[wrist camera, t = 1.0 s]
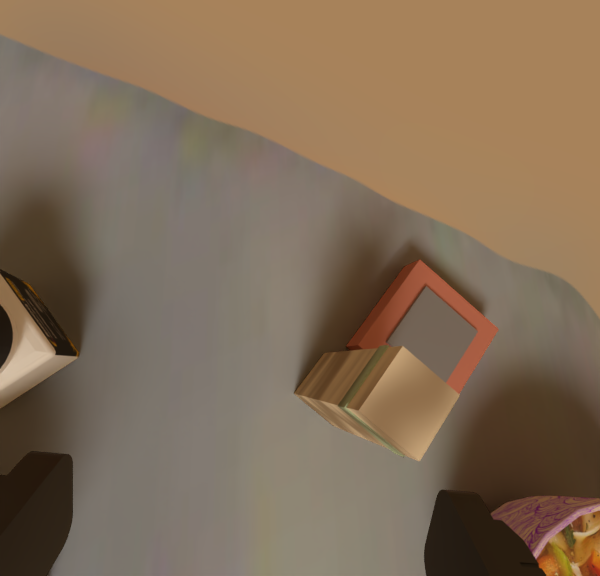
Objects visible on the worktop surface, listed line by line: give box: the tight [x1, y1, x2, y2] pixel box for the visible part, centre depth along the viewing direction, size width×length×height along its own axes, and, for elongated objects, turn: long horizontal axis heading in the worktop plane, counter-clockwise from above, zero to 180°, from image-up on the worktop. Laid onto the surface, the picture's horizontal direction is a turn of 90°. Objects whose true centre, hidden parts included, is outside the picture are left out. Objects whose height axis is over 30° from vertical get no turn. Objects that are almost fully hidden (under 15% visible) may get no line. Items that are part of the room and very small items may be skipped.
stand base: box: [346, 260, 499, 394], centre depth 40 cm, size 10×10×3 cm
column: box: [294, 345, 460, 461], centre depth 32 cm, size 5×5×15 cm
